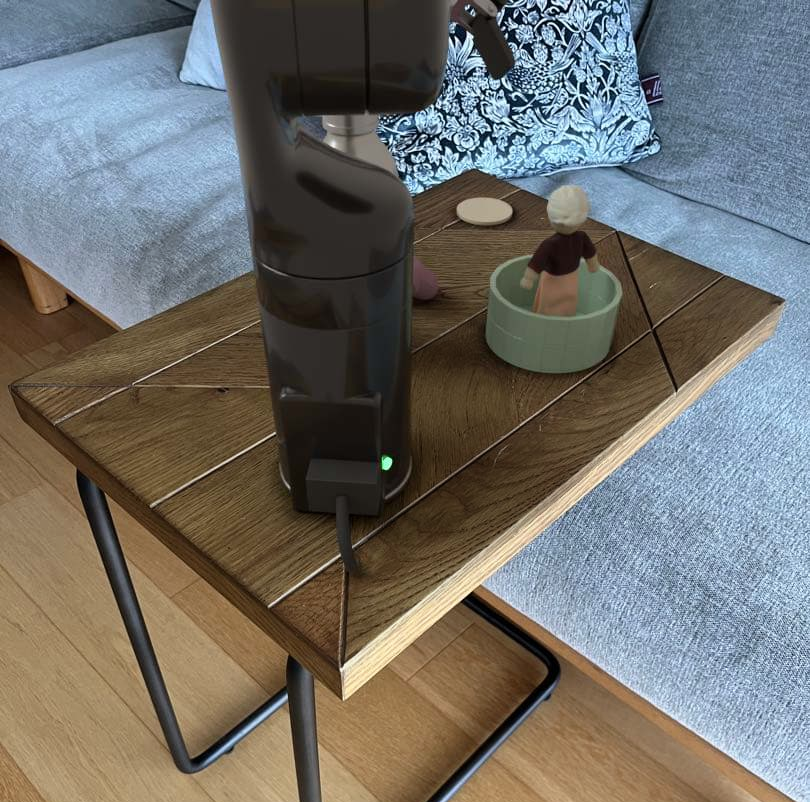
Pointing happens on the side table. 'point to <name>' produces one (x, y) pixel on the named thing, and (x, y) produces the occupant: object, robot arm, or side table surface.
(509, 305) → the bowl
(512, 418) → the side table surface
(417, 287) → the video game controller
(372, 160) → the metal water bottle
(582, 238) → the grandmother figurine
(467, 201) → the coaster
